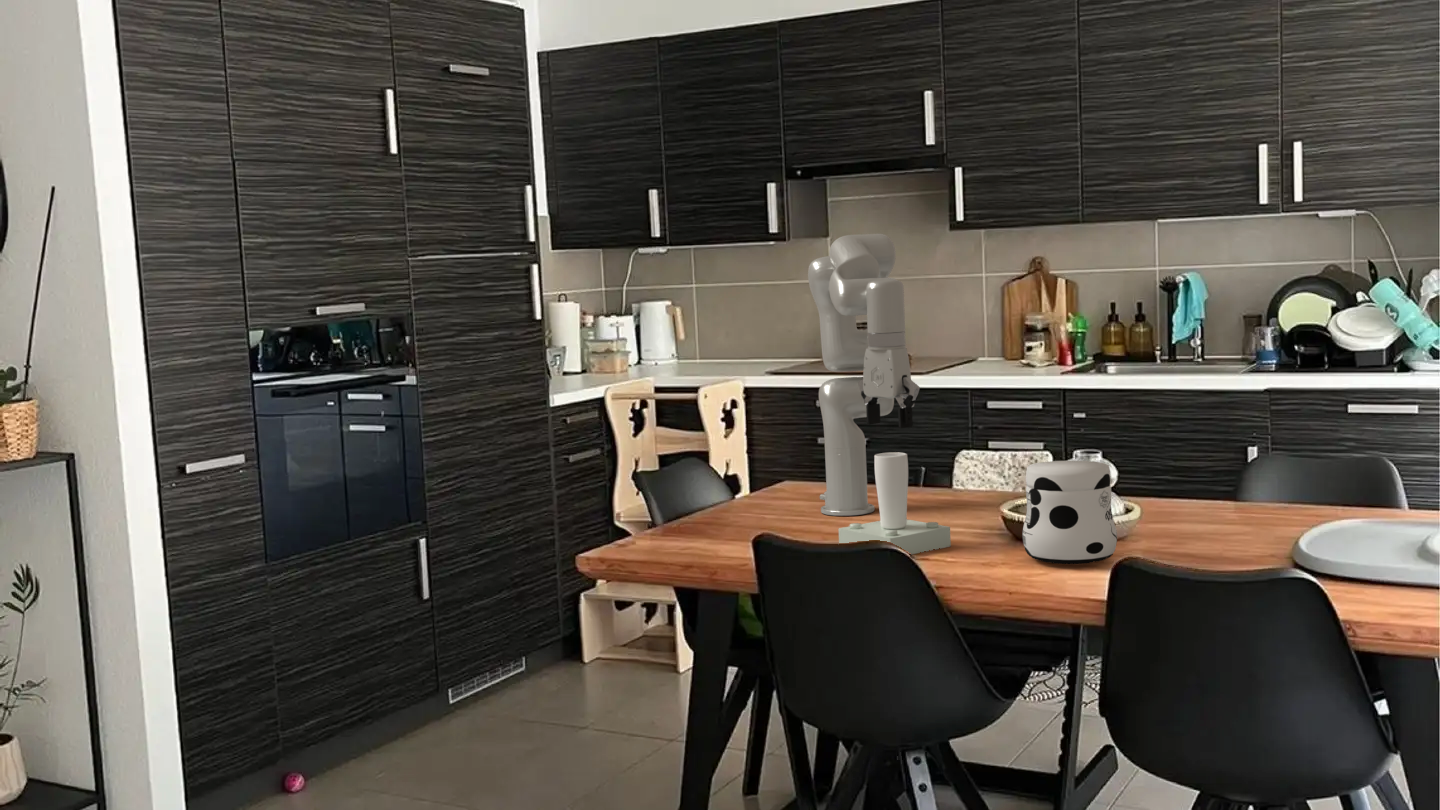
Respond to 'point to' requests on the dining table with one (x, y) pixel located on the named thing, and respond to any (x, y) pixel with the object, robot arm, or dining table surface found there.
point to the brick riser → (900, 535)
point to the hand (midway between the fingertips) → (889, 425)
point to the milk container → (1069, 512)
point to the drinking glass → (892, 488)
